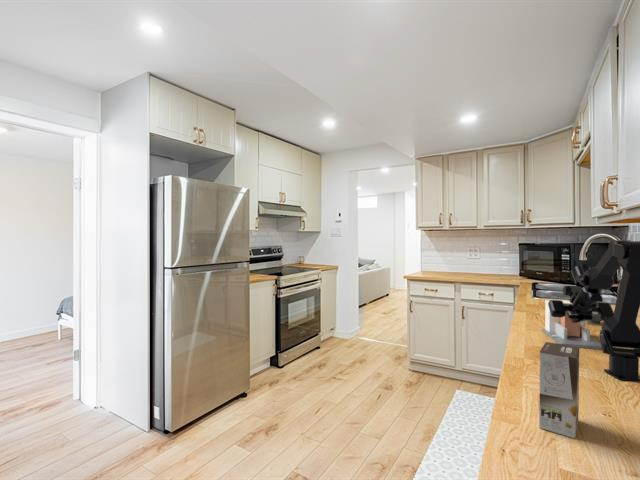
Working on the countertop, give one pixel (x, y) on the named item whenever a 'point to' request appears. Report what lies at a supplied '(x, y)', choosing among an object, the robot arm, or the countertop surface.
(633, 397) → the countertop surface
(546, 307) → the test rig
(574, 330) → the plug
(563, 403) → the coffee box
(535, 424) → the countertop surface
